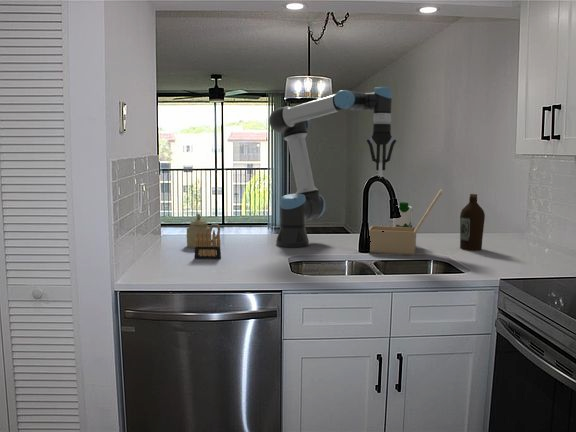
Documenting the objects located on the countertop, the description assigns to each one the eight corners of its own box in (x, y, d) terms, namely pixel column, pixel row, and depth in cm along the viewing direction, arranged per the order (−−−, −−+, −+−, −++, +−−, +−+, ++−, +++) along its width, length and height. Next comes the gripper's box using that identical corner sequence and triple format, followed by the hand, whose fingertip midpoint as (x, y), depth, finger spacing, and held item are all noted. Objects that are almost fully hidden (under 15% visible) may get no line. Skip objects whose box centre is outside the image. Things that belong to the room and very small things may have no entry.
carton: (367, 252, 250) (368, 229, 249) (371, 247, 262) (371, 225, 261) (414, 255, 245) (414, 232, 243) (415, 249, 257) (416, 227, 256)
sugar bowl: (218, 243, 268) (218, 211, 266) (220, 248, 257) (220, 214, 255) (186, 244, 265) (186, 212, 263) (187, 248, 254) (186, 215, 253)
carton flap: (440, 191, 238) (442, 192, 238) (440, 188, 251) (442, 189, 251) (414, 231, 243) (416, 232, 243) (416, 226, 256) (418, 227, 256)
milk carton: (393, 245, 267) (394, 203, 264) (391, 242, 276) (393, 201, 273) (412, 246, 266) (414, 203, 263) (410, 242, 275) (411, 201, 272)
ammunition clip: (194, 258, 233) (194, 229, 231) (195, 258, 235) (194, 229, 233) (220, 259, 233) (220, 230, 232) (221, 258, 235) (220, 229, 233)
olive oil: (473, 246, 268) (475, 192, 264) (488, 250, 258) (491, 195, 254) (453, 247, 264) (456, 193, 261) (468, 251, 254) (471, 195, 251)
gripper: (365, 123, 246) (364, 177, 249) (396, 123, 242) (394, 178, 246) (368, 123, 253) (366, 176, 256) (398, 123, 250) (396, 177, 253)
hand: (380, 177), depth 251 cm, fingers closed
